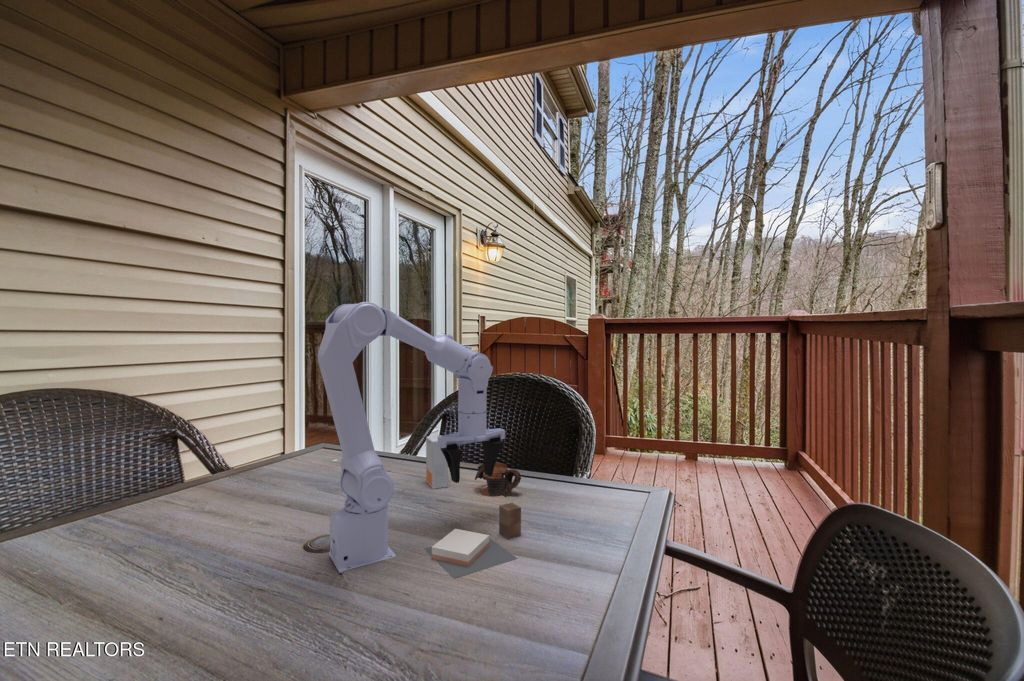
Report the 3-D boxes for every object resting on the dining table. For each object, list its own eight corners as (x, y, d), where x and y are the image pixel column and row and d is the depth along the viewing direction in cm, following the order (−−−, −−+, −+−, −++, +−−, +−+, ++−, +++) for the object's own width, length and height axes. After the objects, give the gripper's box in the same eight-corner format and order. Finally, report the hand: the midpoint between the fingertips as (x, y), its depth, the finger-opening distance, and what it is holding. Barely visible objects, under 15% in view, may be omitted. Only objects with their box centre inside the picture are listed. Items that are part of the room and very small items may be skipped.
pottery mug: (469, 500, 111) (468, 465, 115) (486, 505, 119) (484, 472, 123) (516, 492, 107) (513, 456, 111) (530, 498, 115) (527, 464, 119)
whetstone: (431, 558, 80) (468, 566, 77) (431, 547, 80) (468, 554, 77) (455, 539, 88) (489, 546, 85) (455, 528, 87) (489, 535, 85)
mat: (454, 582, 74) (454, 578, 74) (424, 551, 84) (424, 548, 84) (517, 561, 80) (517, 558, 80) (482, 535, 90) (482, 532, 90)
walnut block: (507, 542, 88) (507, 510, 87) (499, 536, 90) (499, 505, 90) (520, 538, 89) (521, 507, 89) (512, 533, 92) (512, 502, 92)
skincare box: (425, 482, 122) (425, 436, 121) (441, 480, 124) (441, 434, 123) (431, 489, 116) (431, 441, 116) (448, 487, 118) (448, 439, 118)
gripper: (448, 418, 88) (448, 490, 88) (513, 411, 96) (512, 477, 96) (433, 412, 94) (433, 480, 94) (495, 406, 102) (494, 468, 102)
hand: (472, 478), depth 96 cm, fingers open, 7 cm apart
